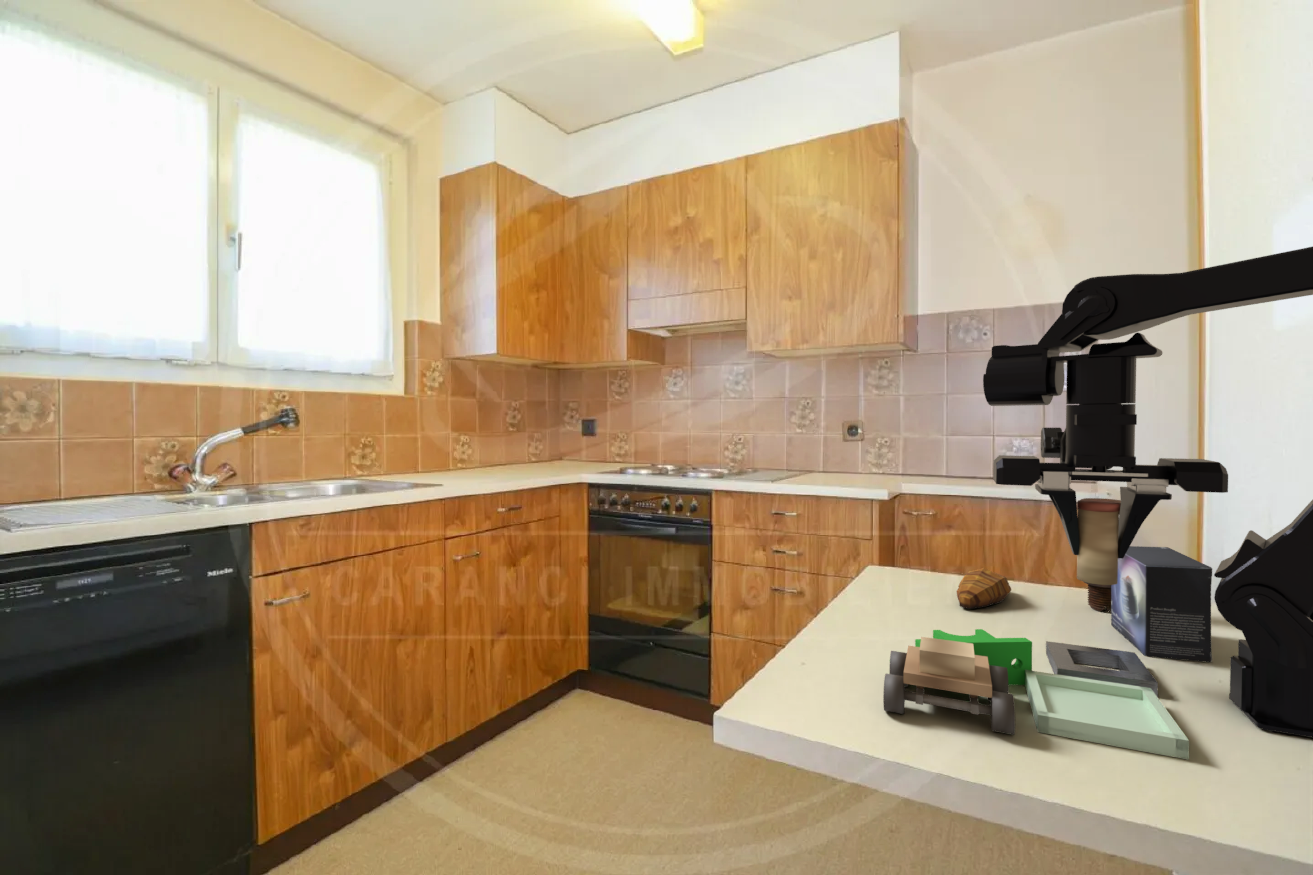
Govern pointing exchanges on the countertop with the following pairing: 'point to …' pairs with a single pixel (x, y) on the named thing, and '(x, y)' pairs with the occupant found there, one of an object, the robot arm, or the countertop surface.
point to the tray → (1104, 713)
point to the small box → (1163, 603)
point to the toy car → (950, 681)
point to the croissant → (982, 589)
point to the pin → (1098, 541)
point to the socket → (1099, 664)
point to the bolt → (1097, 592)
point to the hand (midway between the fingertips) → (1097, 555)
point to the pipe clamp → (997, 651)
